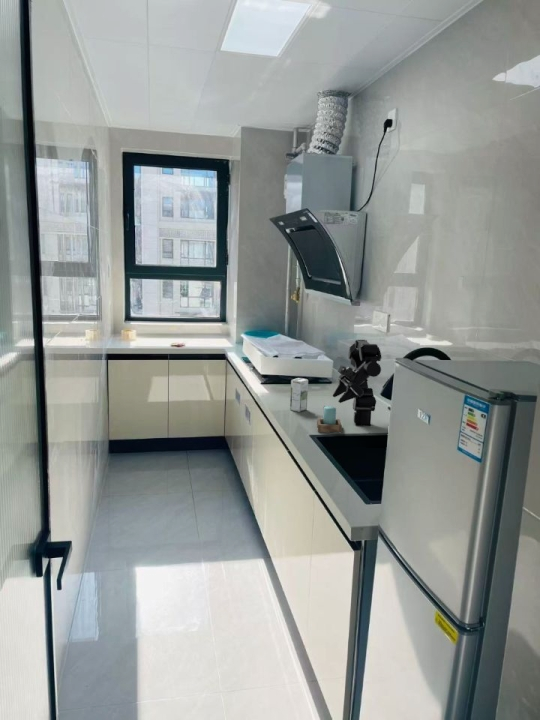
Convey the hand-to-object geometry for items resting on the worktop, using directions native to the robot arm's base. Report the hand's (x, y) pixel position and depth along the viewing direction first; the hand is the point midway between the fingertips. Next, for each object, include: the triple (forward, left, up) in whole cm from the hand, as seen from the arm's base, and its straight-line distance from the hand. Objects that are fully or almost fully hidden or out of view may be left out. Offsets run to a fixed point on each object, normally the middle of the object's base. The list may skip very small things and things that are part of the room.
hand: (336, 399), depth 227 cm
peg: (+2, 0, -13) cm, 13 cm away
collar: (+3, 0, -13) cm, 13 cm away
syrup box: (+15, -28, -13) cm, 34 cm away
